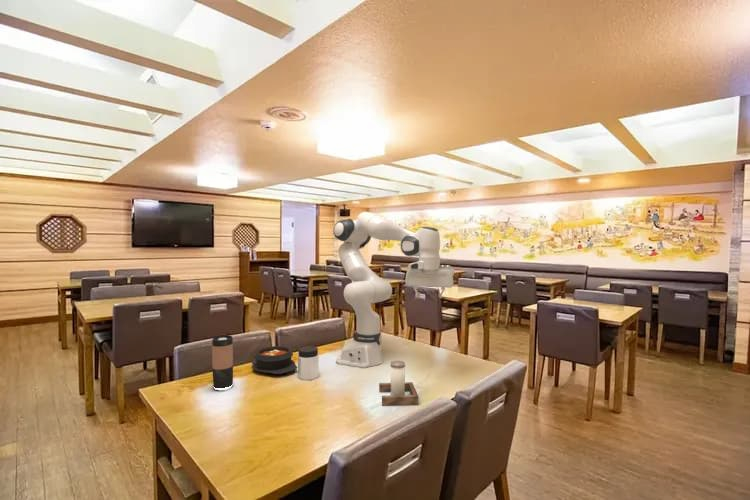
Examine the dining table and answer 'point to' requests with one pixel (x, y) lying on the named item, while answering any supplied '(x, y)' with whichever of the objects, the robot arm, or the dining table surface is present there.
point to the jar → (308, 363)
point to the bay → (399, 399)
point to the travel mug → (222, 361)
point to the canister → (397, 378)
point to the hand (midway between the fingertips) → (429, 297)
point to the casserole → (274, 360)
